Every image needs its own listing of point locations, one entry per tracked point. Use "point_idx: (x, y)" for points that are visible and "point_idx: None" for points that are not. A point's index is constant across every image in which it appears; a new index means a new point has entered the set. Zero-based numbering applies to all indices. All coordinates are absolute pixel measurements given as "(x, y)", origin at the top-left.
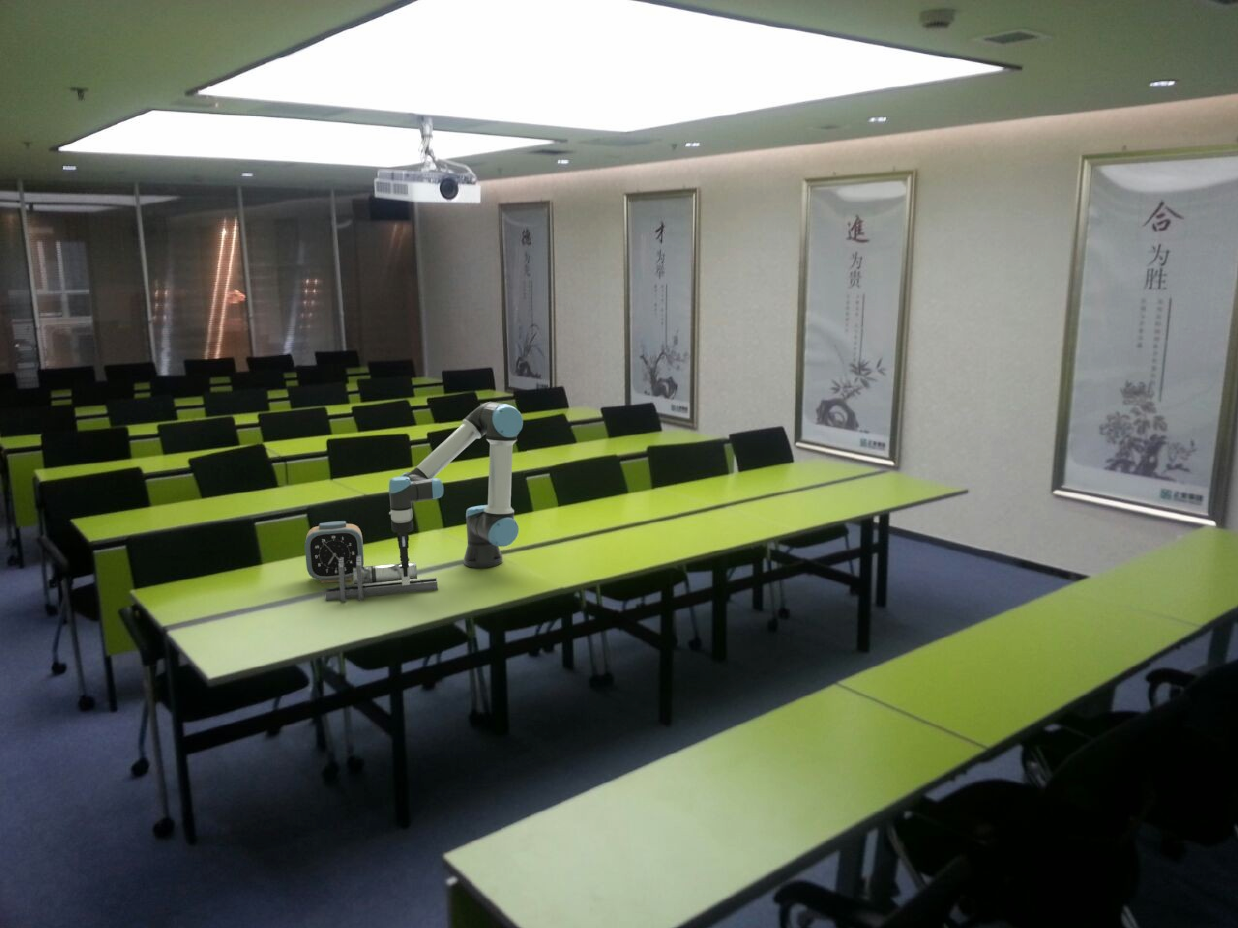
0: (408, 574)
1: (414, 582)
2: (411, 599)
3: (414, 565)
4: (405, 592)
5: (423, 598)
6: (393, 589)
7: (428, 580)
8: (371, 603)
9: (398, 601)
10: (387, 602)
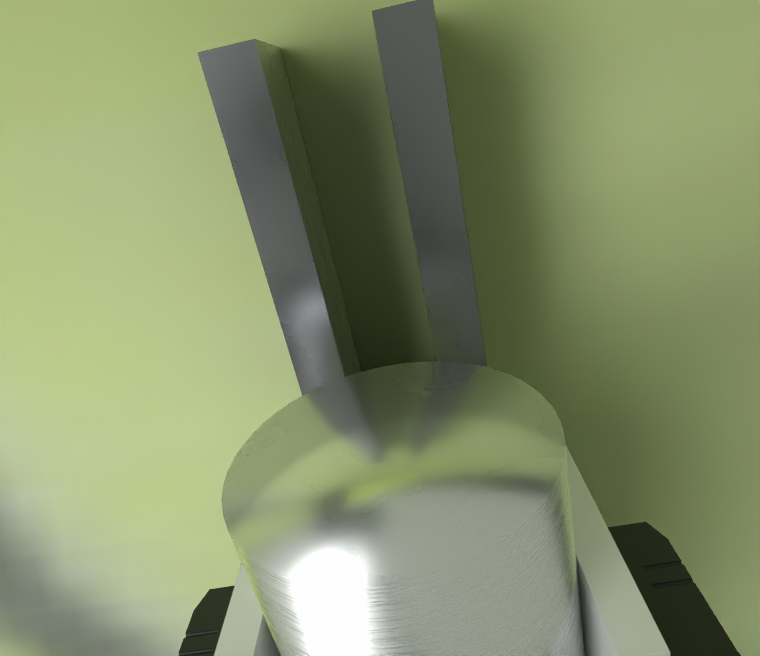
0: (603, 532)
1: (348, 369)
2: (740, 313)
3: (517, 564)
4: None
5: (757, 173)
6: None
7: (298, 182)
8: (720, 623)
9: (756, 431)
10: (745, 517)
